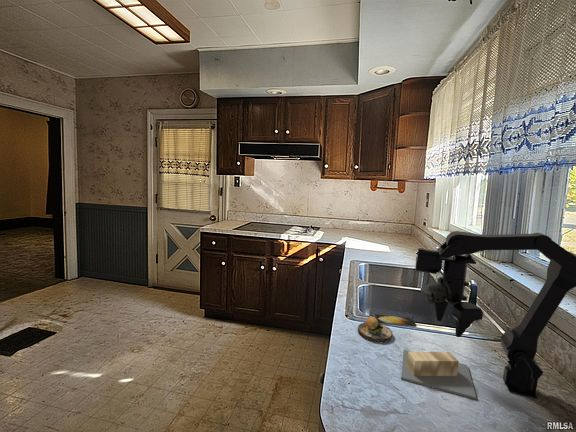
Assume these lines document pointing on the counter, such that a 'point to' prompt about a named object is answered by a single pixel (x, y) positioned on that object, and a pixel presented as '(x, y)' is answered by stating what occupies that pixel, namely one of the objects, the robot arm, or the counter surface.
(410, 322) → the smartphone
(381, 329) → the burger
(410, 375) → the mat
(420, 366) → the block
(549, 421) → the counter surface
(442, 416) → the counter surface
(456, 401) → the counter surface
